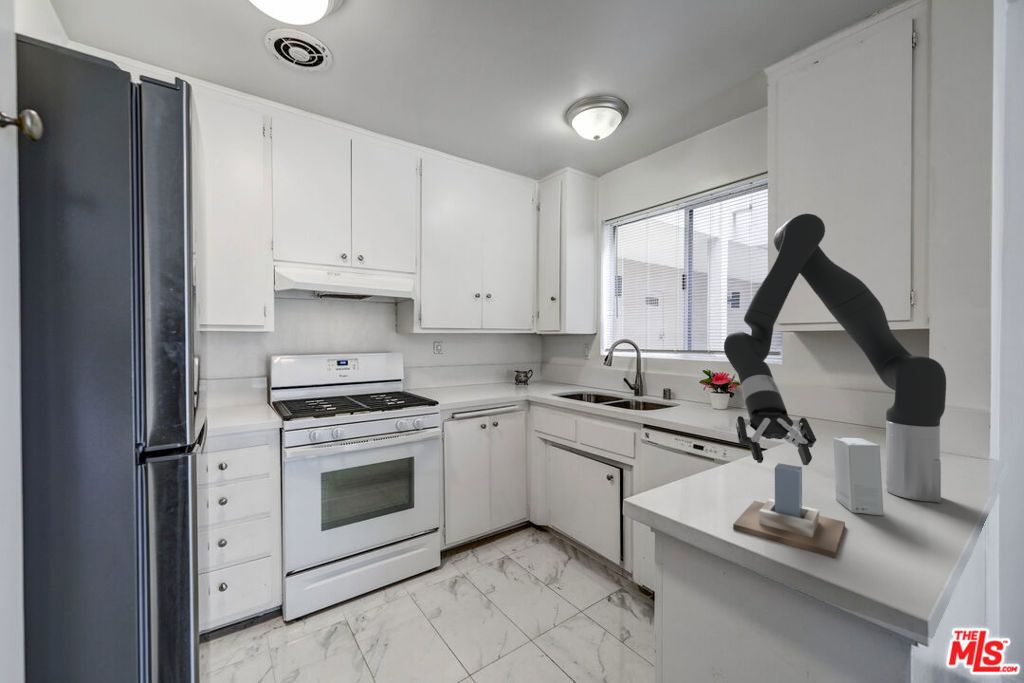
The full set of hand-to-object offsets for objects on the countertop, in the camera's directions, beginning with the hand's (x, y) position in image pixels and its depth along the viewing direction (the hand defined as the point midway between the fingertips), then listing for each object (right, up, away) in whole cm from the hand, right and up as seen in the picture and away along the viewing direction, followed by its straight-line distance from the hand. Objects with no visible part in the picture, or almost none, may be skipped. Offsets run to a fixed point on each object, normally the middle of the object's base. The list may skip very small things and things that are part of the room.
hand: (783, 462), depth 85 cm
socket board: (-1, -12, -3) cm, 13 cm away
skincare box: (+21, -12, +7) cm, 25 cm away
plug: (-1, -11, -3) cm, 12 cm away
